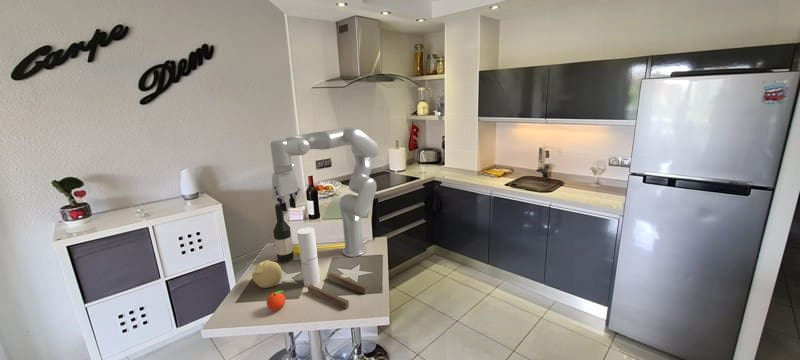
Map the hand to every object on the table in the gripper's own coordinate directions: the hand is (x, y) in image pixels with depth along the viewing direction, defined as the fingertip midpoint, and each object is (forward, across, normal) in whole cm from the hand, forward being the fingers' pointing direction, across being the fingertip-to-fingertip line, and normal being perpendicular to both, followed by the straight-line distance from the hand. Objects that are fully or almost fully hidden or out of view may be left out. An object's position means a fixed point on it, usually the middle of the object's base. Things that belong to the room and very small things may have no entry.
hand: (288, 208), depth 145 cm
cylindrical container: (+34, 0, +10) cm, 35 cm away
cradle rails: (+33, 0, +26) cm, 42 cm away
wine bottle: (+34, -8, -19) cm, 39 cm away
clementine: (+34, +20, +13) cm, 41 cm away
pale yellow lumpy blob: (+34, +11, -6) cm, 36 cm away
